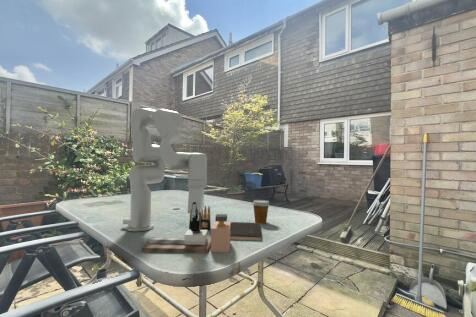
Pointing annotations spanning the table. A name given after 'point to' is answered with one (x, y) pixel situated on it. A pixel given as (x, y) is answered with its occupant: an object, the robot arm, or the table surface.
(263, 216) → the disposable coffee cup
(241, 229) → the hardcover book
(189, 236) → the carriage
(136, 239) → the table surface
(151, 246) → the rail bed
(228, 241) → the pink block
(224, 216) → the button
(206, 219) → the ammunition clip
